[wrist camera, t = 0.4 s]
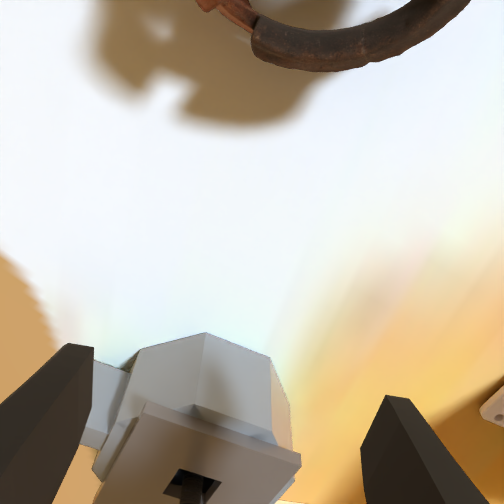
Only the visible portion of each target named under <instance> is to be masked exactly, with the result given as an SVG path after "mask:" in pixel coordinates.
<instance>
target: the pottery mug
mask: <svg viewBox="0 0 504 504" xmlns="http://www.w3.org/2000/svg"><path fill="white" fill-rule="evenodd" d="M195 1H196V2H197V4H198V5H199V7H200V8H201V9H202V10H203V11H204V12H209V11H211V10H212V9H214V8H216V9H217V10H219V11H220V13H221V14H222V15H224V16H225V17H226V18H228V19H229V20H231V21H232V22H234V23H235V24H237V25H238V26H240V27H242V28H243V29H245V30H246V31H248V32H249V33H251V34H252V36H251V47H252V51H253V53H254V55H255V56H256V57H257V58H260V59H261V60H263V61H265V62H269V63H272V64H275V65H277V66H281V67H285V68H289V69H300V70H305V71H310V72H339V71H344V70H349V69H353V68H359V67H363V66H365V65H367V64H368V63H369V62H380V61H383V60H385V59H388V58H391V57H394V56H399V55H400V54H402V53H403V52H404V51H406V50H408V49H409V48H411V47H413V46H415V45H417V44H419V43H420V42H422V41H424V40H426V39H428V38H430V37H431V36H433V35H434V34H435V33H436V32H438V31H439V30H440V29H441V28H443V27H444V26H445V25H446V24H447V23H448V22H449V21H451V20H452V19H453V18H455V17H456V16H457V15H458V14H459V13H460V12H461V11H462V10H463V9H464V8H465V7H466V6H467V5H468V4H469V2H470V1H471V0H411V1H410V2H409V3H407V4H405V5H404V6H403V7H401V8H399V9H398V10H396V11H394V12H392V13H390V14H388V15H386V16H384V17H381V18H378V19H376V20H374V21H372V22H368V23H364V24H361V25H358V26H354V27H350V28H343V29H337V30H320V31H318V30H305V29H300V28H295V27H291V26H288V25H284V24H281V23H279V22H276V21H274V20H272V19H270V18H268V17H266V16H264V15H261V14H259V13H257V12H256V11H254V10H253V9H252V8H251V5H250V3H249V1H248V0H195Z"/></svg>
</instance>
